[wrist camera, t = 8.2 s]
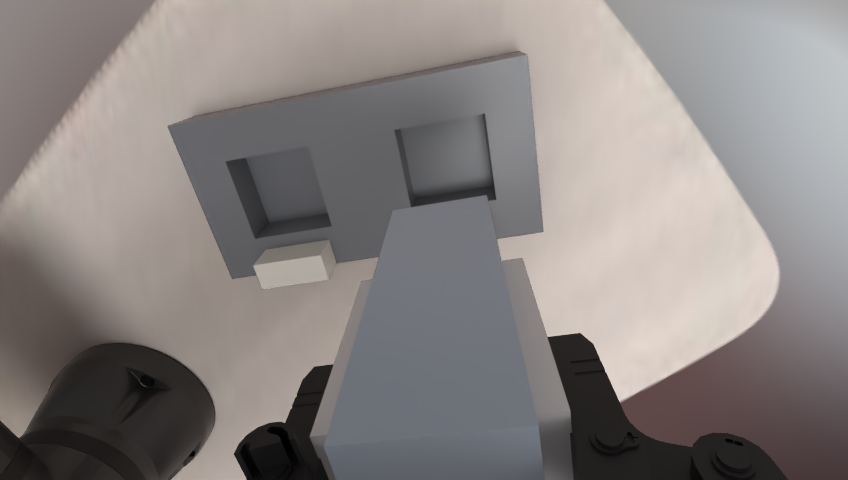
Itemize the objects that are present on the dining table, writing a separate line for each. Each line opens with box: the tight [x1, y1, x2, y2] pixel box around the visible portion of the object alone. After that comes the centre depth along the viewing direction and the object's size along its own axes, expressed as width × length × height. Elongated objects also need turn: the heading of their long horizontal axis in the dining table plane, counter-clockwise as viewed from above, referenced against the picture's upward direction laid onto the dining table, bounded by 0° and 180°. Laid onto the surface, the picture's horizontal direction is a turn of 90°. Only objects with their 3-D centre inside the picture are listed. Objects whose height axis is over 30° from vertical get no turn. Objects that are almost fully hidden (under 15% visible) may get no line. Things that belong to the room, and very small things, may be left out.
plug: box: [324, 195, 545, 480], centre depth 15 cm, size 4×4×12 cm
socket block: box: [168, 51, 543, 290], centre depth 32 cm, size 24×12×6 cm, turn 101°
